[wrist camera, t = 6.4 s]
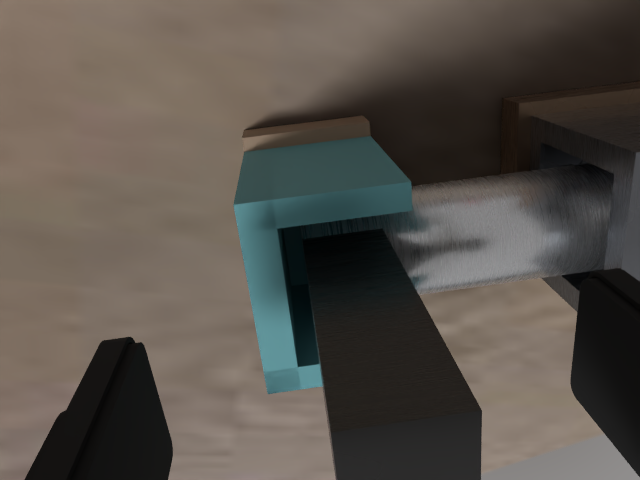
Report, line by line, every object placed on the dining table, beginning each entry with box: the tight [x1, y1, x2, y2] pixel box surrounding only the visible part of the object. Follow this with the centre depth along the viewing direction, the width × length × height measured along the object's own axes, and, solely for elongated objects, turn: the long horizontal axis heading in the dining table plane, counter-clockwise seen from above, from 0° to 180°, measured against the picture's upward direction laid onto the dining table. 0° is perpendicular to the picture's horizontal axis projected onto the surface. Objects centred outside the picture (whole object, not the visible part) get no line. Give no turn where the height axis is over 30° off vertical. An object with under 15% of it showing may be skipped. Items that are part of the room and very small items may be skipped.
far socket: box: [234, 116, 412, 394], centre depth 18 cm, size 5×7×8 cm, turn 6°
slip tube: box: [300, 163, 614, 480], centre depth 14 cm, size 12×4×11 cm, turn 96°
